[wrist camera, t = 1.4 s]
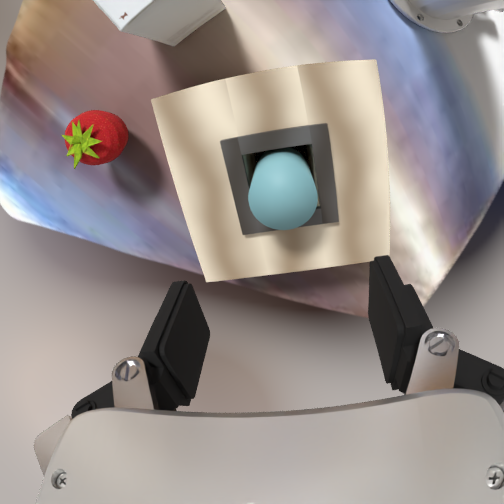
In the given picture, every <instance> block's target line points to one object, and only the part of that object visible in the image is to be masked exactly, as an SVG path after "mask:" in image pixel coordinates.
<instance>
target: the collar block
mask: <svg viewBox="0 0 504 504" xmlns="http://www.w3.org/2000/svg"><path fill="white" fill-rule="evenodd" d="M151 101H152V105H153V109H154V113H155V116H156V120H157V124H158V128H159V131H160V135H161V138H162V142H163V146H164V149H165V153H166V156H167V160H168V163H169V166H170V170H171V173H172V177H173V180H174V183H175V187H176V190H177V193H178V197H179V200H180V203H181V206H182V209H183V213H184V216H185V219H186V222H187V225H188V228H189V231H190V234H191V238H192V241H193V244H194V247H195V250H196V253H197V256H198V259H199V262H200V264H201V267H202V270H203V273H204V276H205V279H206V282H213V281H222V280H231V279H240V278H248V277H256V276H265V275H273V274H281V273H289V272H297V271H304V270H312V269H319V268H327V267H334V266H342V265H349V264H356V263H363V262H370V261H374V257H377V256H384V255H389V252H390V185H389V164H388V149H387V137H386V126H385V117H384V109H383V101H382V93H381V86H380V80H379V74H378V68H377V62H376V60H353V61H337V62H325V63H315V64H306V65H298V66H291V67H284V68H277V69H271V70H265V71H260V72H254V73H249V74H244V75H239V76H235V77H230V78H226V79H221V80H217V81H213V82H209V83H205V84H201V85H198V86H194V87H190V88H187V89H183V90H180V91H177V92H173V93H170V94H167V95H164V96H161V97H158V98H154V99H152V100H151ZM299 145H306V146H307V152H308V159H309V165H310V172H311V175H312V178H313V180H314V183H315V186H316V189H317V194H318V202H317V207H316V209H315V212H314V214H313V215H312V216H311V218H310V219H309V220H308V221H307V222H306V223H304V224H303V225H301V226H299V227H297V228H294V229H290V230H277V229H272V228H270V227H267V226H265V225H264V224H262V223H261V222H260V221H258V220H257V219H256V217H255V216H254V215H253V213H252V211H251V209H250V206H249V201H248V195H249V189H250V186H251V182H252V179H253V175H254V172H255V168H256V160H255V156H254V153H255V152H261V151H267V150H273V149H279V148H286V147H292V146H299Z"/></svg>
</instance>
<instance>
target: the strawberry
mask: <svg viewBox="0 0 504 504" xmlns="http://www.w3.org/2000/svg"><path fill="white" fill-rule="evenodd" d="M62 136H63V137H64V138H65V144H66V147H67V149H68V154H67V156H70V155H72V156H73V157H74V169H75V168H76V166H77V164H78V163H79V161H80V162H82V163H84V164H88V165H100V164H104V163H108V162H110V161H112V160H114V159H116V158H117V157H118V156H119V155H120V154H121V152H122V151H123V149H124V147H125V146H126V144H127V141H128V130H127V127H126V125H125V123H124V122H123V121H122V120H121V119H120V118H119V117H118V116H116V115H115V114H112V113H109V112H104V111H99V110H91V111H87V112H84V113H82V114H80V115H79V116H77V117H76V118H74V119H73V120H72V121H71V122H70V123H69V125H68V126H67V128H66V131H65V135H62Z"/></svg>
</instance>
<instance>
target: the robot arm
mask: <svg viewBox="0 0 504 504" xmlns="http://www.w3.org/2000/svg"><path fill="white" fill-rule="evenodd" d="M390 1H391V2H392V4H393V5H394V6H395V7H396V8H397V9H398V10H399V11H400V12H401V13H402V14H403V15H404V16H406V17H407V18H408V19H410V20H411V21H412V22H414V23H416V24H417V25H419V26H421V27H423V28H426V29H428V30H431V31H435V32H439V33H450V32H456V31H459V30H462V29H463V28H465V27H466V26H467V25H468V24H469V23H470V21H471V20H472V17H473V15H474V14H475V13H480V12H485V11H490V10H495V11H498V12H503V11H504V0H390ZM417 17H418V18H419V19H418V18H417ZM368 315H369V321H370V324H371V328H372V331H373V335H374V338H375V342H376V346H377V349H378V353H379V357H380V360H381V365H382V369H383V373H384V377H385V381H386V383H391V387H392V390H397V389H399V391H401V392H403V393H404V395H403V396H398V397H392V398H387V399H381V400H375V401H369V402H362V403H356V404H349V405H341V406H334V407H325V408H315V409H304V410H292V411H276V412H253V413H252V412H251V413H207V412H206V413H205V412H181V411H177V410H176V408H177V407H178V406H179V405H180V406H181V405H182V406H189V405H190V401H191V399H193V398H194V397H195V394H196V390H197V386H198V382H199V378H200V374H201V370H202V366H203V362H204V358H205V353H206V350H207V346H208V342H209V338H210V330H209V327H208V325H207V322H206V320H205V317H204V315H203V312H202V309H201V307H200V304H199V302H198V299H197V297H196V294H195V291H194V289H193V286H192V285H191V284H188V282H187V281H178V282H173V283H172V285H171V286H170V288H169V291H168V293H167V295H166V297H165V299H164V301H163V303H162V306H161V308H160V310H159V312H158V314H157V316H156V318H155V320H154V322H153V324H152V326H151V328H150V331H149V333H148V335H147V338H146V340H145V342H144V344H143V347H142V349H141V351H140V353H139V356H138V357H135V356H134V357H133V356H131V357H127V358H124V359H122V360H121V361H120V362H118V363H117V364H116V366H115V367H114V369H113V371H112V381H111V382H110V383H108V384H106V385H105V386H103V387H101V388H100V389H98V390H96V391H95V392H93V393H91V394H90V395H88V396H86V397H85V398H83V399H81V400H80V401H79V402H77V404H76V405H75V406H74V408H73V410H72V414H71V417H70V416H68V415H67V416H65V417H64V418H62V419H61V420H59V421H58V422H57V423H55V424H54V425H52V426H51V427H49V428H48V429H46V430H45V431H43V432H42V433H41V434H39V435H38V436H37V438H36V439H35V442H34V450H35V453H36V456H37V459H38V461H39V464H40V467H41V470H42V472H43V475H44V479H43V482H42V485H41V488H40V491H39V494H38V497H37V500H36V504H504V369H503V368H501V367H499V366H497V365H494V364H492V363H490V362H488V361H485V360H483V359H481V358H478V357H476V356H474V355H472V354H469V353H467V352H465V351H462V350H460V349H459V341H458V339H457V337H456V336H455V335H454V333H453V332H451V331H449V330H447V329H443V328H433V326H432V324H431V322H430V320H429V318H428V316H427V314H426V312H425V310H424V308H423V306H422V304H421V302H420V300H419V298H418V296H417V294H416V292H415V290H414V288H413V286H412V285H411V284H407V285H404V284H403V282H402V280H401V278H400V276H399V274H398V272H397V270H396V268H395V266H394V265H393V263H392V261H391V259H390V257H389V255H384V256H377V257H374V261H370V277H369V307H368Z"/></svg>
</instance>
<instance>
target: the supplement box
mask: <svg viewBox="0 0 504 504" xmlns="http://www.w3.org/2000/svg"><path fill="white" fill-rule="evenodd" d="M93 1H94V2H95V3H96V4H97V5H98V7H99V8H100V9H101V10H102V11H103V12H104V13H105V14H106V15H107V16H108V17H109V18H110V20H111V21H112V22H113V23H114V24H115V25H116V26H117V28H118V29H119V30H120V31H121V32H125V33H129V34H133V35H137V36H140V37H144V38H148V39H151V40H154V41H158V42H161V43H164V44H167V45H170V46H173V47H174V46H175V45H177V44H178V43H179V42H181V41H182V40H183V39H184V38H186V37H187V36H188V35H189V34H191V33H192V32H194V31H195V30H196V29H197V28H199V27H200V26H202V25H203V24H204V23H206V22H207V21H209V20H210V19H211V18H213V17H214V16H216V15H217V14H219V13H220V12H221V11H223V10H224V9H225V8H226V7H225V5H224V4H223V3H222V1H221V0H93Z"/></svg>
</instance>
